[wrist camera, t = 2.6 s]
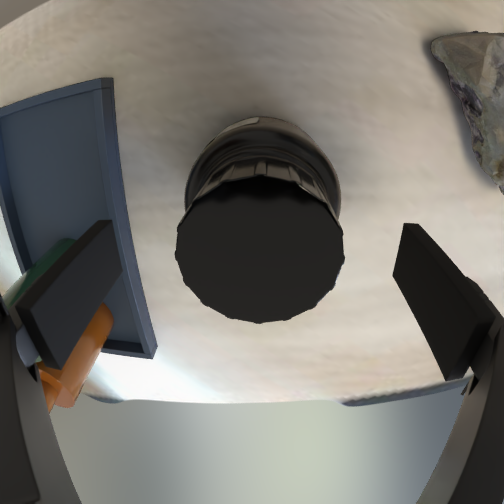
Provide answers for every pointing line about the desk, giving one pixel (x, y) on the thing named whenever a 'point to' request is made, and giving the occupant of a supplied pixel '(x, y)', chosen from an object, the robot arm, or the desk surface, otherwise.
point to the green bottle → (36, 272)
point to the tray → (72, 192)
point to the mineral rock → (479, 91)
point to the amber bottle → (76, 362)
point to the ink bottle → (261, 223)
